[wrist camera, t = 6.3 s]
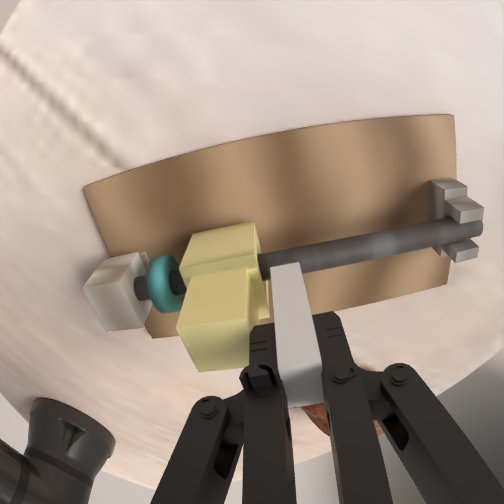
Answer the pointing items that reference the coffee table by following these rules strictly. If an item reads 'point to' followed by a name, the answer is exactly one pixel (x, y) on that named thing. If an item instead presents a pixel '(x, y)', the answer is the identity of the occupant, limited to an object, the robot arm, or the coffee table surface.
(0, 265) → the coffee table surface
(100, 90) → the coffee table surface
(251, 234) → the yellow sliding block
